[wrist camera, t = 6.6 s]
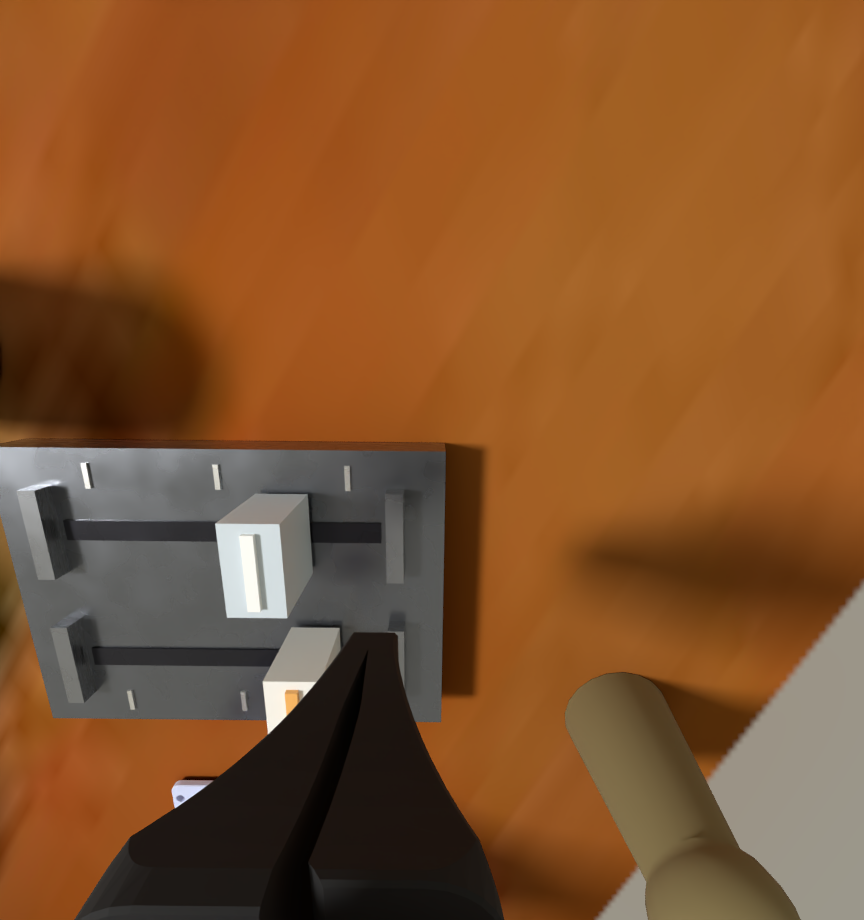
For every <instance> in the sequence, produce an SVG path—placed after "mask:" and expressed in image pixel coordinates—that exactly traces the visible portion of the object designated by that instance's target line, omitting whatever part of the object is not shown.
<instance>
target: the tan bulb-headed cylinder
mask: <svg viewBox="0 0 864 920" xmlns="http://www.w3.org/2000/svg"><path fill="white" fill-rule="evenodd" d="M565 724H566V728H567V730H568V732H569V734H570V736H571V738H572V740H573V742H574V744H575V746H576V748H577V750H578V752H579V754H580V756H581V758H582V760H583V761H584V763H585V765H586V767H587V769H588V771H589V773H590V775H591V777H592V779H593V781H594V782H595V784H596V786H597V788H598V790H599V792H600V794H601V796H602V798H603V800H604V802H605V804H606V805H607V807H608V809H609V811H610V813H611V815H612V817H613V819H614V821H615V823H616V825H617V826H618V828H619V830H620V832H621V834H622V836H623V838H624V840H625V842H626V844H627V846H628V848H629V849H630V851H631V853H632V855H633V857H634V859H635V861H636V863H637V865H638V867H639V869H640V870H641V872H642V874H643V876H644V878H645V880H646V882H647V883H646V892H645V894H646V895H645V905H646V910H647V916H648V920H801V919H800V918H799V915H798V913H797V911H796V908H795V906H794V905H793V903H792V902H791V900H790V899H789V897H788V896H787V895H786V893H785V892H784V890H783V889H782V887H781V886H780V885H779V884H778V883H777V881H775V879H774V878H773V877H772V876H771V875H770V874H769V873H768V872H767V871H766V870H765V869H764V867H763V866H762V865H761V864H760V863H759V862H758V861H757V860H755V858H753V857H752V856H750V855H749V854H747V853H746V852H744V851H742V850H741V849H740V848H739V846H738V844H737V842H736V840H735V838H734V836H733V834H732V832H731V830H730V828H729V826H728V824H727V822H726V820H725V818H724V816H723V814H722V812H721V810H720V808H719V806H718V804H717V802H716V800H715V798H714V796H713V794H712V792H711V790H710V788H709V786H708V784H707V782H706V780H705V778H704V776H703V774H702V772H701V770H700V768H699V766H698V764H697V762H696V760H695V758H694V756H693V754H692V752H691V750H690V748H689V746H688V744H687V742H686V740H685V738H684V736H683V734H682V732H681V730H680V728H679V726H678V724H677V722H676V720H675V718H674V716H673V714H672V712H671V710H670V708H669V706H668V704H667V702H666V700H665V698H664V696H663V694H662V692H661V691H660V690H659V689H658V688H657V687H656V686H655V685H654V684H653V683H652V682H651V681H649V680H647V679H645V678H643V677H641V676H639V675H635V674H630V673H624V672H621V673H611V674H605V675H602V676H600V677H597V678H594V679H591V680H590V681H588V682H587V683H586V684H584V685H583V686H581V687H580V688H579V689H578V690H577V691H576V692H575V694H574V695H573V696H572V697H571V699H570V700H569V703H568V706H567V709H566V712H565Z"/></svg>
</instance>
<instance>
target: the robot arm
mask: <svg viewBox="0 0 864 920" xmlns="http://www.w3.org/2000/svg"><path fill="white" fill-rule="evenodd" d="M172 795H173V801H174V806H175V809H173V810H171V811H170V812H168V813H167V814H165V815H164V816H162V817H161V818H159V819H158V820H156V821H155V822H153V823H152V824H150V825H148V826H147V827H145V828H144V829H142V830H141V831H139V832H137V833H136V834H134V835H133V836H131V837H130V838H129V839H128V841H127V842H126V844H125V845H124V847H123V848H122V849H121V851H120V852H119V853H118V855H117V856H116V857H115V859H114V860H113V861H112V863H111V864H110V866H109V867H108V869H107V870H106V872H105V873H104V875H103V876H102V877H101V879H100V881H99V882H98V884H97V885H96V887H95V888H94V890H93V892H92V893H91V895H90V896H89V898H88V899H87V901H86V902H85V904H84V906H83V907H82V909H81V910H80V912H79V913H78V915H77V917H76V918H75V920H504V917H503V912H502V908H501V904H500V900H499V896H498V893H497V889H496V886H495V883H494V880H493V877H492V874H491V871H490V868H489V865H488V862H487V860H486V857H485V854H484V851H483V849H482V846H481V843H480V840H479V839H478V837H477V836H476V834H475V833H474V831H473V830H472V828H471V827H470V825H469V824H468V822H467V821H466V819H465V818H464V816H463V815H462V813H461V812H460V810H459V808H458V807H457V805H456V803H455V802H454V800H453V798H452V797H451V795H450V793H449V792H448V790H447V788H446V786H445V784H444V783H443V781H442V779H441V777H440V775H439V773H438V771H437V769H436V767H435V765H434V763H433V762H432V760H431V758H430V756H429V753H428V751H427V749H426V747H425V744H424V742H423V740H422V738H421V735H420V733H419V730H418V728H417V725H416V723H415V720H414V717H413V714H412V711H411V708H410V705H409V702H408V699H407V696H406V692H405V689H404V685H403V680H402V676H401V672H400V667H399V653H398V635H397V634H395V633H388V632H354V633H353V634H352V635H351V636H350V637H349V639H348V640H347V642H346V643H345V645H344V646H343V647H342V649H341V650H340V652H339V653H338V655H337V656H336V657H335V659H334V660H333V661H332V663H331V664H330V665H329V667H328V668H327V669H326V670H325V672H324V673H323V674H322V676H321V677H320V678H319V679H318V681H317V682H316V683H315V684H314V686H313V687H312V688H311V689H310V690H309V691H308V693H307V694H306V695H305V696H304V697H303V698H302V699H301V701H300V702H299V703H298V704H297V705H296V706H295V707H294V708H293V710H292V711H291V712H290V713H289V714H288V715H287V716H286V717H285V718H284V719H283V720H282V721H281V722H280V723H279V724H278V725H277V726H276V727H275V728H274V729H273V730H272V731H271V732H270V733H269V734H268V735H267V736H266V737H265V738H264V739H263V740H261V741H260V742H259V743H258V744H257V745H256V746H255V747H254V748H252V749H251V750H250V751H249V752H248V753H247V754H246V755H245V756H244V757H242V758H241V759H240V760H239V761H238V762H236V763H235V764H234V765H233V766H232V767H230V768H229V769H228V770H227V771H225V772H224V773H223V774H222V775H220V776H219V777H218V778H216V779H215V780H179V781H177V782H176V783H175V785H174V786H173V788H172Z"/></svg>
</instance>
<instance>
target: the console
mask: <svg viewBox="0 0 864 920" xmlns="http://www.w3.org/2000/svg"><path fill="white" fill-rule="evenodd" d="M445 473H446V449H445V443H408V442H309V441H210V440H110V439H21V440H16V441H11V442H6V443H0V515H1V519H2V523H3V527H4V531H5V534H6V538H7V542H8V546H9V550H10V554H11V557H12V561H13V565H14V569H15V573H16V577H17V580H18V584H19V588H20V592H21V596H22V600H23V603H24V607H25V611H26V615H27V619H28V623H29V626H30V630H31V634H32V638H33V642H34V646H35V649H36V653H37V657H38V661H39V665H40V669H41V672H42V676H43V680H44V684H45V688H46V692H47V695H48V699H49V703H50V707H51V711H52V715H53V718H109V719H204V720H267V717H266V708H265V699H264V690H263V680H264V678H265V676H266V674H267V672H268V671H269V669H270V667H271V665H272V663H273V661H274V659H275V657H276V655H277V654H278V652H279V650H280V648H281V646H282V644H283V642H284V640H285V639H286V637H287V635H288V633H289V631H290V629H291V627H299V628H340V647H341V649H342V647H343V646H344V645H345V643H346V642H347V640H348V639H349V637H350V636H351V635H352V634H353V633H354V632H388V633H395V634H397V635H398V653H399V667H400V672H401V676H402V680H403V685H404V689H405V692H406V696H407V699H408V702H409V705H410V708H411V711H412V714H413V717H414V720H415V722H441V691H442V637H443V582H444V527H445ZM254 494H308V507H309V522H310V537H311V552H312V567H313V574H312V576H311V578H310V579H309V581H308V583H307V585H306V586H305V588H304V590H303V592H302V593H301V595H300V597H299V599H298V601H297V602H296V604H295V606H294V608H293V609H292V611H291V613H290V615H289V616H288V618H227V614H226V606H225V598H224V590H223V582H222V574H221V567H220V559H219V551H218V543H217V535H216V527H215V523H217V522H218V521H219V520H221V519H222V518H223V517H225V516H226V515H227V514H229V513H230V512H231V511H233V510H234V509H235V508H237V507H238V506H239V505H241V504H242V503H243V502H245V501H246V500H247V499H249V498H250V497H251V496H253V495H254Z"/></svg>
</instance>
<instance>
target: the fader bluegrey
mask: <svg viewBox="0 0 864 920" xmlns="http://www.w3.org/2000/svg"><path fill="white" fill-rule="evenodd" d="M215 527H216V535H217V543H218V551H219V559H220V567H221V574H222V582H223V590H224V598H225V606H226V614H227V618H288V616H289V615H290V613H291V611H292V609H293V608H294V606H295V604H296V602H297V601H298V599H299V597H300V595H301V593H302V592H303V590H304V588H305V586H306V585H307V583H308V581H309V579H310V578H311V576H312V574H313V567H312V552H311V537H310V522H309V507H308V494H254V495H253V496H251V497H250V498H249V499H247V500H246V501H245V502H243V503H242V504H241V505H239V506H238V507H237V508H235V509H234V510H233V511H231V512H230V513H229V514H227V515H226V516H225V517H223V518H222V519H221V520H219V521H218V522H217V523H215Z"/></svg>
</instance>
